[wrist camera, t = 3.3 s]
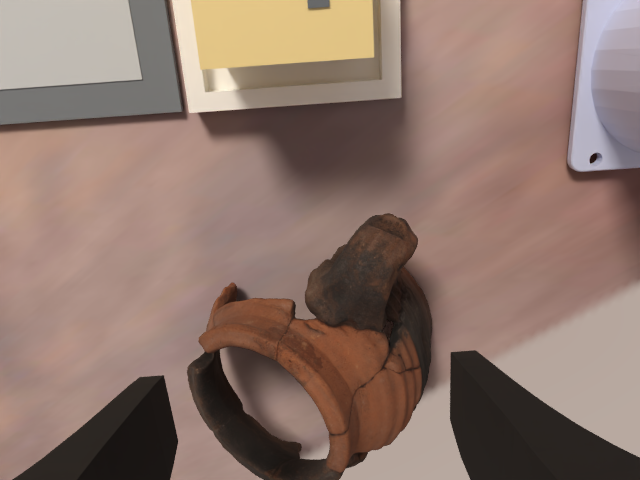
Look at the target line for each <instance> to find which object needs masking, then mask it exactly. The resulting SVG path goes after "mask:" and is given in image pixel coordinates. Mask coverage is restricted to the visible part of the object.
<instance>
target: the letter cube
mask: <svg viewBox="0 0 640 480" xmlns="http://www.w3.org/2000/svg"><path fill="white" fill-rule="evenodd" d="M191 6H192V13H193V21H194V28H195V35H196V42H197V49H198V56H199V63H200V70H205V69H219V68H233V67H247V66H261V65H274V64H288V63H302V62H316V61H330V60H344V59H358V58H372V57H374V35H373V0H191Z"/></svg>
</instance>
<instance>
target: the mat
mask: <svg viewBox="0 0 640 480" xmlns="http://www.w3.org/2000/svg"><path fill="white" fill-rule="evenodd" d="M182 111H183V105H182V98H181V92H180V85H179V79H178V72H177V66H176V59H175V53H174V47H173V40H172V34H171V27H170V21H169V14H168V8H167V1H166V0H0V125H2V124H16V123H30V122H44V121H58V120H72V119H86V118H100V117H114V116H128V115H142V114H156V113H170V112H182Z"/></svg>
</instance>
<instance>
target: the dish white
mask: <svg viewBox="0 0 640 480" xmlns="http://www.w3.org/2000/svg"><path fill="white" fill-rule="evenodd" d="M172 2H173V9H174V16H175V22H176V29H177V36H178V42H179V49H180V55H181V62H182V69H183V75H184V82H185V88H186V95H187V102H188V108H189V113H196V112H210V111H224V110H238V109H252V108H266V107H280V106H294V105H308V104H322V103H336V102H350V101H364V100H378V99H392V98H401V22H400V0H373V35H374V57H372V58H358V59H344V60H330V61H316V62H302V63H288V64H274V65H261V66H247V67H233V68H219V69H205V70H200V63H199V56H198V49H197V42H196V35H195V28H194V21H193V13H192V6H191V0H172Z"/></svg>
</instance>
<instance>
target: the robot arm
mask: <svg viewBox="0 0 640 480" xmlns="http://www.w3.org/2000/svg"><path fill="white" fill-rule="evenodd" d="M594 153H597V159H596V161H595V162H594V163H590V160H589V159H590V157H591V155H592V154H594ZM567 162H568V165H569V167H570V168H572V169H573V170H575V171H579V172H587V171H601V170H615V169H629V168H640V0H583V6H582V16H581V26H580V36H579V46H578V56H577V66H576V76H575V86H574V96H573V106H572V117H571V127H570V137H569V147H568V157H567ZM450 421H451V424H452V428H453V431H454V435H455V439H456V442H457V445H458V448H459V452H460V455H461V458H462V460H463V463H464V465H465V468H466V470H467V472H468V475H469V477H470V479H471V480H640V458H639V457H637V456H635V455H633V454H631V453H629V452H627V451H625V450H623V449H621V448H619V447H617V446H615V445H613V444H611V443H609V442H608V441H606V440H604V439H602V438H600V437H599V436H597V435H595V434H593V433H592V432H590V431H588V430H586V429H584V428H583V427H581V426H579V425H578V424H576V423H575V422H573V421H571V420H570V419H568V418H567V417H565V416H564V415H562V414H560V413H559V412H557V411H556V410H554V409H553V408H551V407H550V406H548V405H547V404H545V403H544V402H543V401H541V400H539V399H538V398H537V397H535V396H534V395H533V394H531V393H530V392H528V391H527V390H526V389H524V388H523V387H522V386H520V385H519V384H518V383H516V382H515V381H514V380H512V379H511V378H510V377H509V376H507V375H506V374H505V373H503V372H502V371H501V370H500V369H498V368H497V367H496V366H495V365H493V364H492V363H491V362H490V361H488V360H487V359H486V358H485V357H483V356H482V355H481V354H479V353H478V352H477V351H475V350H474V351H462V352H451V383H450ZM177 445H178V438H177V434H176V429H175V424H174V420H173V415H172V411H171V406H170V402H169V397H168V393H167V388H166V383H165V379H164V375H163V376H150V377H140V378H138V379H137V380H136V381H134V382H133V383H132V384H131V385H129V386H128V387H127V388H126V389H125V390H124V391H122V392H121V393H120V394H119V395H118V396H117V397H116V398H114V399H113V400H112V401H111V402H110V403H109V404H108V405H107V406H105V407H104V408H103V409H102V410H101V411H100V412H98V413H97V414H96V415H95V416H94V417H93V418H92V419H90V420H89V421H88V422H87V423H86V424H85V425H83V426H82V427H81V428H80V429H79V430H77V431H76V432H75V433H74V434H72V435H71V436H70V437H69V438H67V439H66V440H65V441H64V442H62V443H61V444H60V445H59V446H57V447H56V448H55V449H54V450H52V451H51V452H50V453H49V454H47V455H46V456H45V457H44V458H42V459H41V460H40V461H38V462H37V463H36V464H34V465H33V466H31V467H30V468H29V469H27V470H26V471H25V472H23V473H22V474H20V475H19V476H17V477H16V478H14V479H13V480H170V477H171V473H172V469H173V464H174V460H175V455H176V450H177Z"/></svg>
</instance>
